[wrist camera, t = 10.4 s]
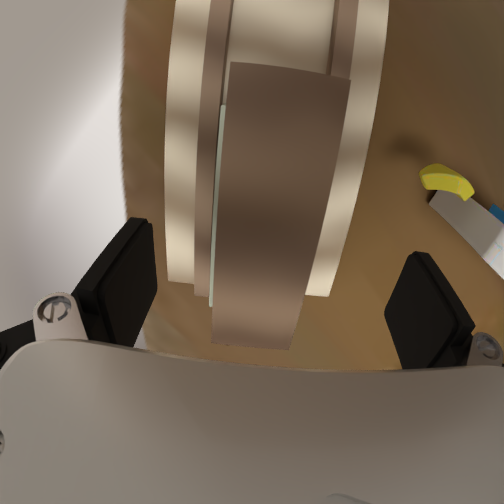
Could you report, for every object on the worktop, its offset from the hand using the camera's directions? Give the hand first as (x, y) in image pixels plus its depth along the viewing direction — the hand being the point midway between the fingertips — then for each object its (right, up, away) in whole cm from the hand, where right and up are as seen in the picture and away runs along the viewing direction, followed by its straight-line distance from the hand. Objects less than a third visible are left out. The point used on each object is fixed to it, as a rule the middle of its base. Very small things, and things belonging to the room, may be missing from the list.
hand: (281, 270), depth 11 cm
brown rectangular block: (0, +6, +10) cm, 12 cm away
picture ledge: (0, +9, +10) cm, 13 cm away
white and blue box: (+24, +2, +14) cm, 28 cm away
